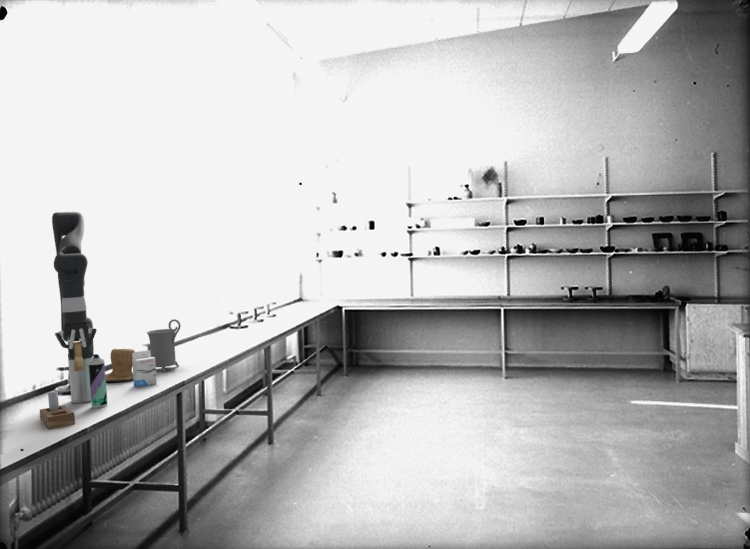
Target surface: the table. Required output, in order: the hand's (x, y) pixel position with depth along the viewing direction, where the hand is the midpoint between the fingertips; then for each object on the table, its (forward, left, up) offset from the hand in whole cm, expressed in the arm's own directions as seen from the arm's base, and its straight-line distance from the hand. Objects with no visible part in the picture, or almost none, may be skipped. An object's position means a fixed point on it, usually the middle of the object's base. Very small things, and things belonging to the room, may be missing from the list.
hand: (77, 358), depth 210 cm
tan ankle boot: (-57, +29, -22) cm, 68 cm away
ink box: (-37, +34, -22) cm, 55 cm away
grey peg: (-5, -8, -21) cm, 23 cm away
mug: (-65, +53, -22) cm, 87 cm away
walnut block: (-1, -8, -21) cm, 23 cm away
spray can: (-13, +9, -22) cm, 27 cm away
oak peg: (0, 0, -4) cm, 4 cm away
